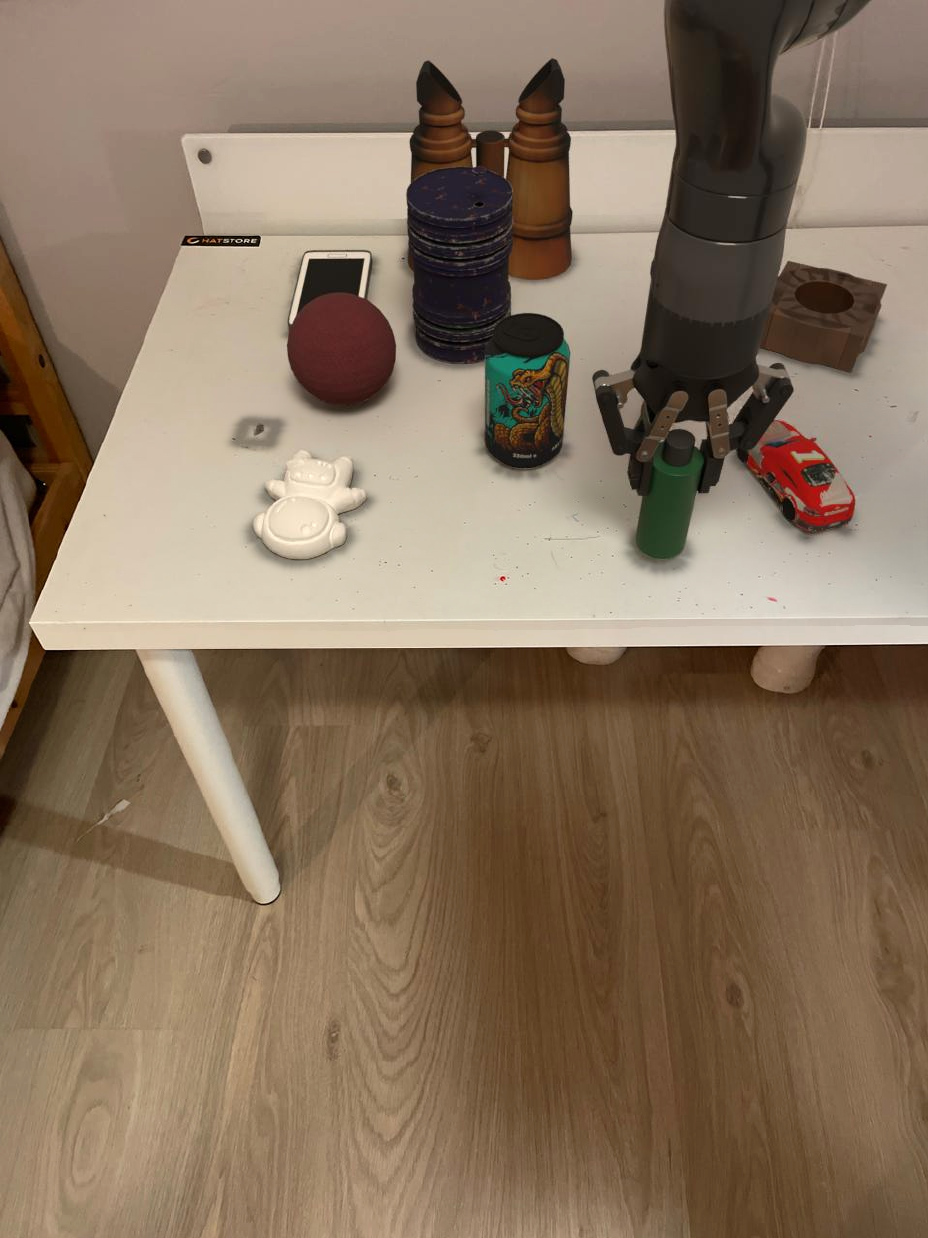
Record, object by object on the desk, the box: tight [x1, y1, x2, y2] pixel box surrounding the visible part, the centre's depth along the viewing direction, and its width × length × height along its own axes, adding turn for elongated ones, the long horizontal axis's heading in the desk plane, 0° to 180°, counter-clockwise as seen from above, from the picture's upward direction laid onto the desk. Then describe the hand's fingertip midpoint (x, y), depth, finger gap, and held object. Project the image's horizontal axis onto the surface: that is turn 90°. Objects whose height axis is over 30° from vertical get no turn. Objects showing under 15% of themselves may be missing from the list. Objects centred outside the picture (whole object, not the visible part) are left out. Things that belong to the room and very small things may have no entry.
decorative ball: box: [286, 292, 397, 406], centre depth 86 cm, size 10×10×10 cm
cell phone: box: [287, 249, 373, 331], centre depth 100 cm, size 8×15×1 cm, turn 179°
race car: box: [736, 419, 856, 533], centre depth 79 cm, size 13×5×4 cm, turn 17°
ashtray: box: [759, 260, 888, 373], centre depth 93 cm, size 11×11×4 cm
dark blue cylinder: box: [405, 166, 513, 365], centre depth 88 cm, size 10×10×18 cm
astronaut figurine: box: [252, 449, 367, 560], centre depth 79 cm, size 9×12×3 cm
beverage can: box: [484, 312, 571, 470], centre depth 80 cm, size 7×7×12 cm
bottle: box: [634, 428, 704, 560], centre depth 71 cm, size 4×4×11 cm
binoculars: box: [406, 57, 574, 280], centre depth 96 cm, size 18×8×20 cm, turn 90°
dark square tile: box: [252, 423, 265, 436], centre depth 86 cm, size 3×3×1 cm
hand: (671, 486), depth 71 cm, fingers closed on bottle, 4 cm apart
